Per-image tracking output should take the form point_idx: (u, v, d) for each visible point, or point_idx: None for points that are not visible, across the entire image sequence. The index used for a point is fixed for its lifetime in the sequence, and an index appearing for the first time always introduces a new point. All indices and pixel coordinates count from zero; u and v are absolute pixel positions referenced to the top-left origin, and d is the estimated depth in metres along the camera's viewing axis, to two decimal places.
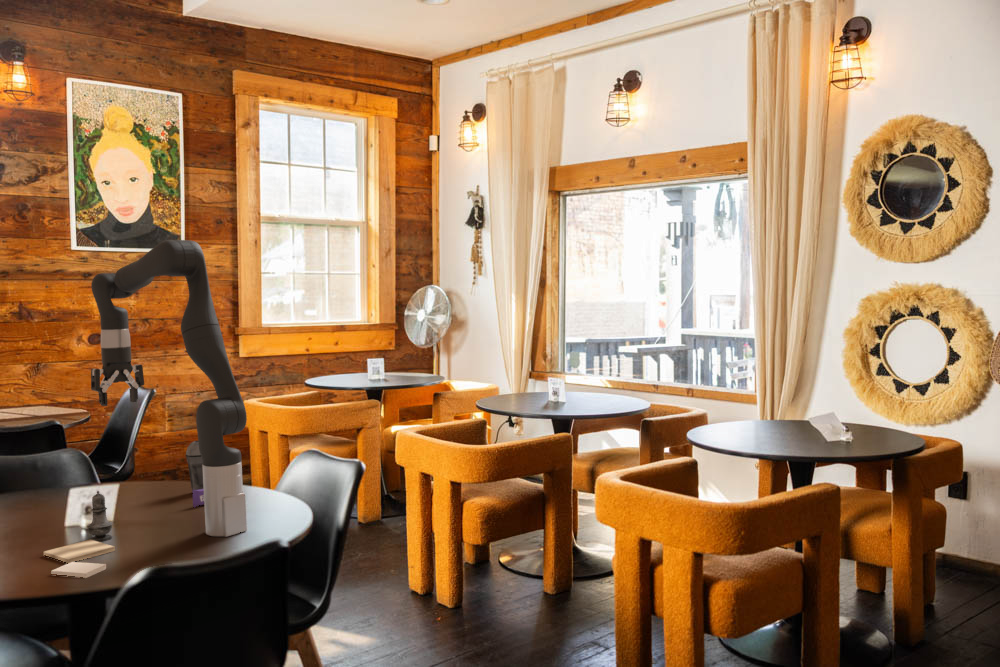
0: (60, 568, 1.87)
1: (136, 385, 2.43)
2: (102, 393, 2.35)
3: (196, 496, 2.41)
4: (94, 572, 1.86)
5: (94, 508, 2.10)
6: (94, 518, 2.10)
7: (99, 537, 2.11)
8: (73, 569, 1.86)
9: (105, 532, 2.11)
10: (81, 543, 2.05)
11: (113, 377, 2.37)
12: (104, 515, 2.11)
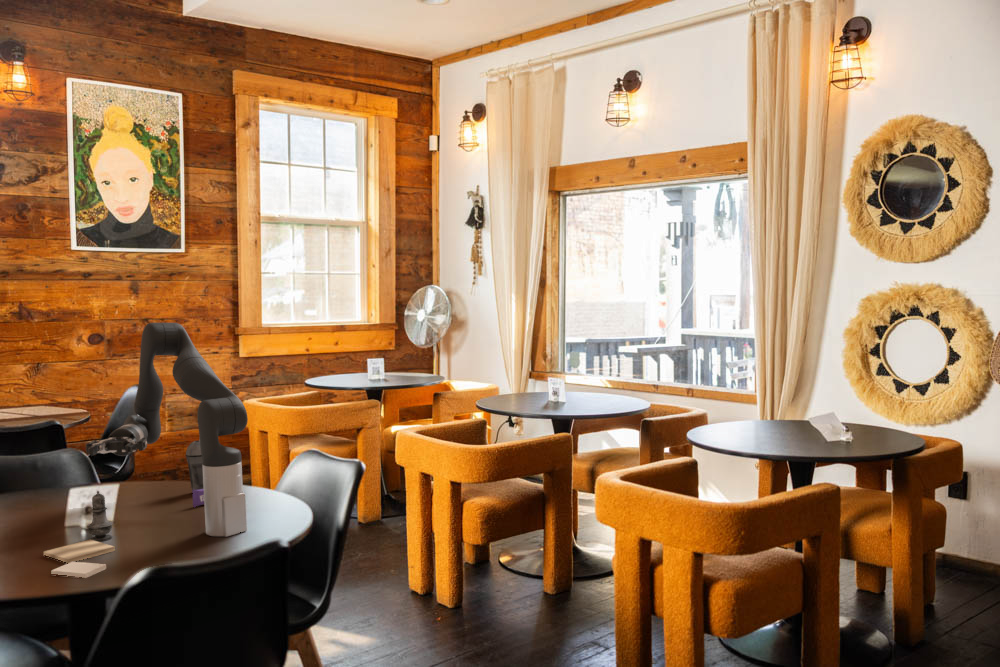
0: (60, 568, 1.87)
1: (133, 441, 2.27)
2: None
3: (196, 496, 2.41)
4: (94, 572, 1.86)
5: (94, 508, 2.10)
6: (94, 518, 2.10)
7: (99, 537, 2.11)
8: (73, 569, 1.86)
9: (105, 532, 2.11)
10: (81, 543, 2.05)
11: (108, 439, 2.29)
12: (104, 515, 2.11)
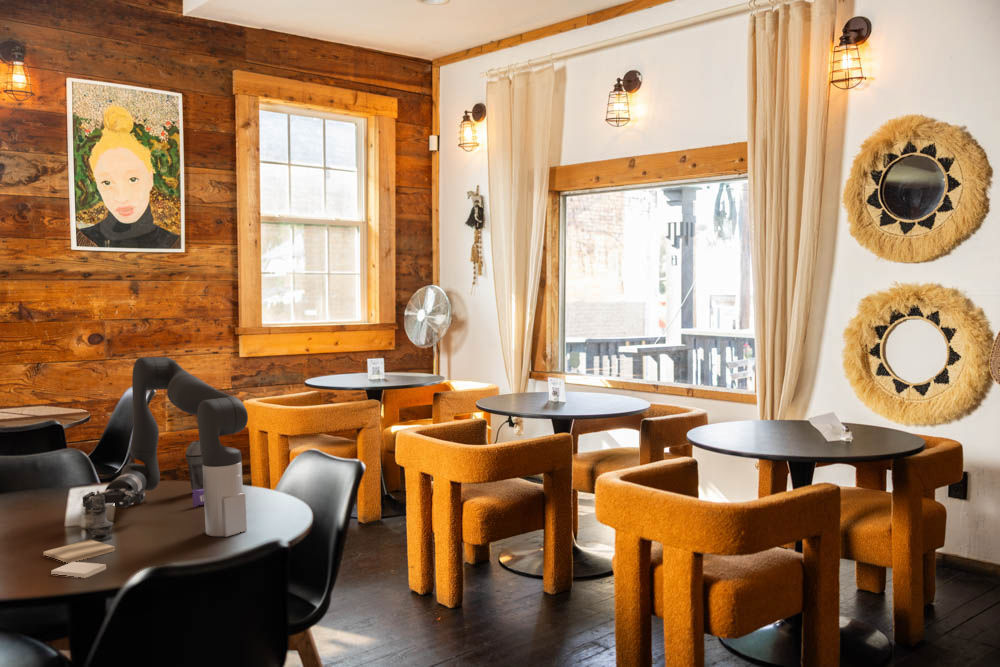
0: (60, 568, 1.87)
1: (130, 494, 2.23)
2: (89, 499, 2.20)
3: (196, 496, 2.41)
4: (93, 572, 1.86)
5: (94, 508, 2.10)
6: (94, 518, 2.10)
7: (99, 537, 2.11)
8: (73, 569, 1.86)
9: (105, 532, 2.11)
10: (81, 543, 2.05)
11: (105, 491, 2.25)
12: (104, 515, 2.11)
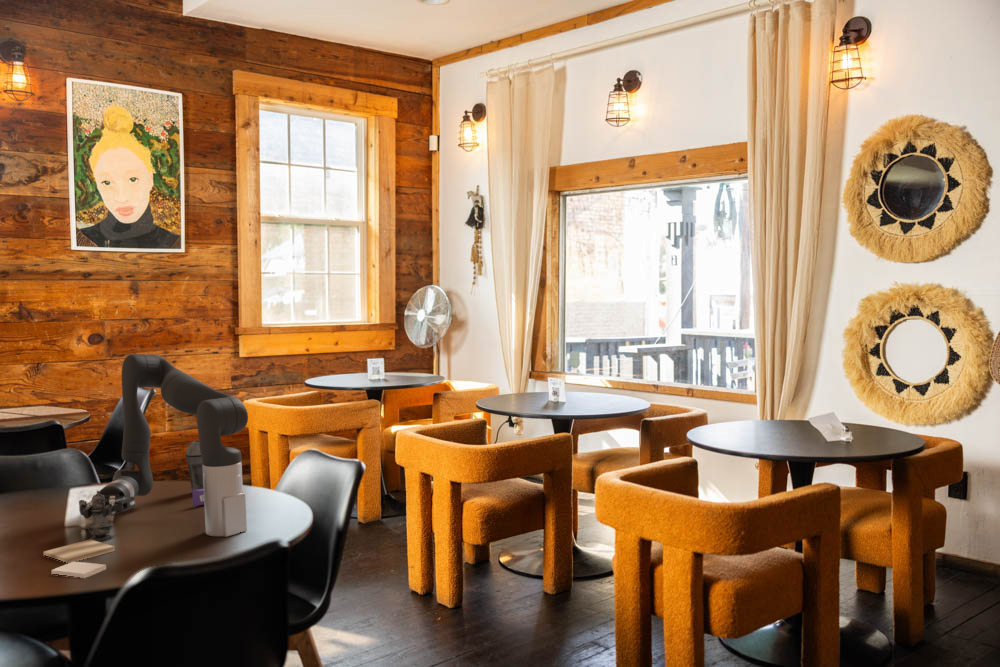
0: (60, 567, 1.87)
1: (111, 503, 2.14)
2: None
3: (196, 496, 2.41)
4: (93, 572, 1.86)
5: (94, 508, 2.10)
6: (94, 518, 2.10)
7: (99, 537, 2.11)
8: (73, 569, 1.86)
9: (105, 532, 2.11)
10: (81, 543, 2.05)
11: None
12: None
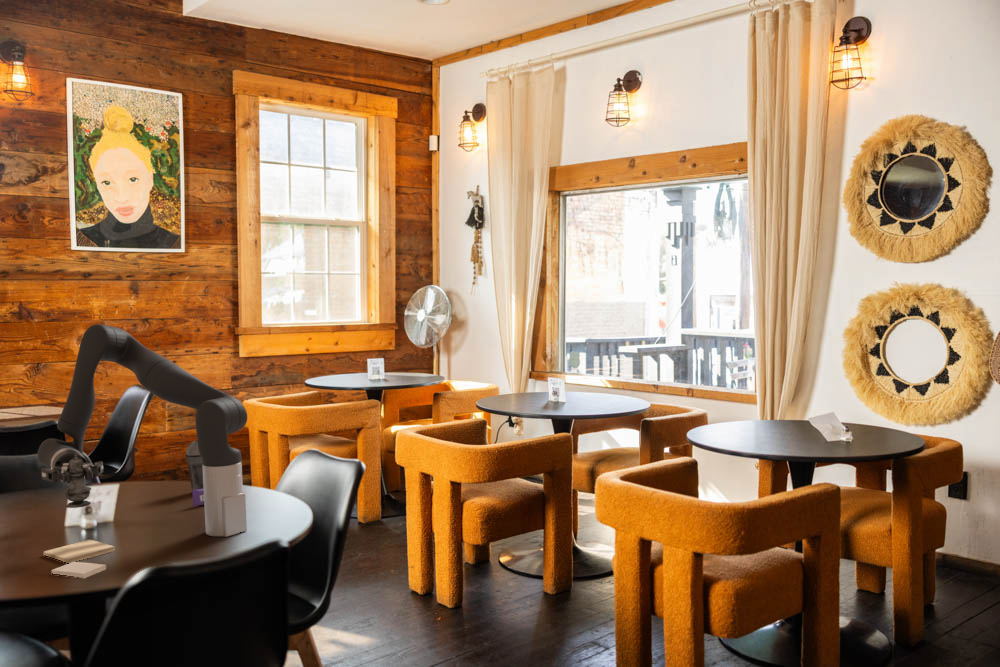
0: (61, 568, 1.87)
1: (87, 467, 2.05)
2: (62, 473, 2.01)
3: (196, 496, 2.41)
4: (93, 572, 1.85)
5: (74, 472, 2.01)
6: (74, 483, 2.01)
7: (79, 502, 2.02)
8: (73, 569, 1.86)
9: (86, 497, 2.02)
10: (81, 543, 2.05)
11: (65, 465, 2.06)
12: (83, 479, 2.03)
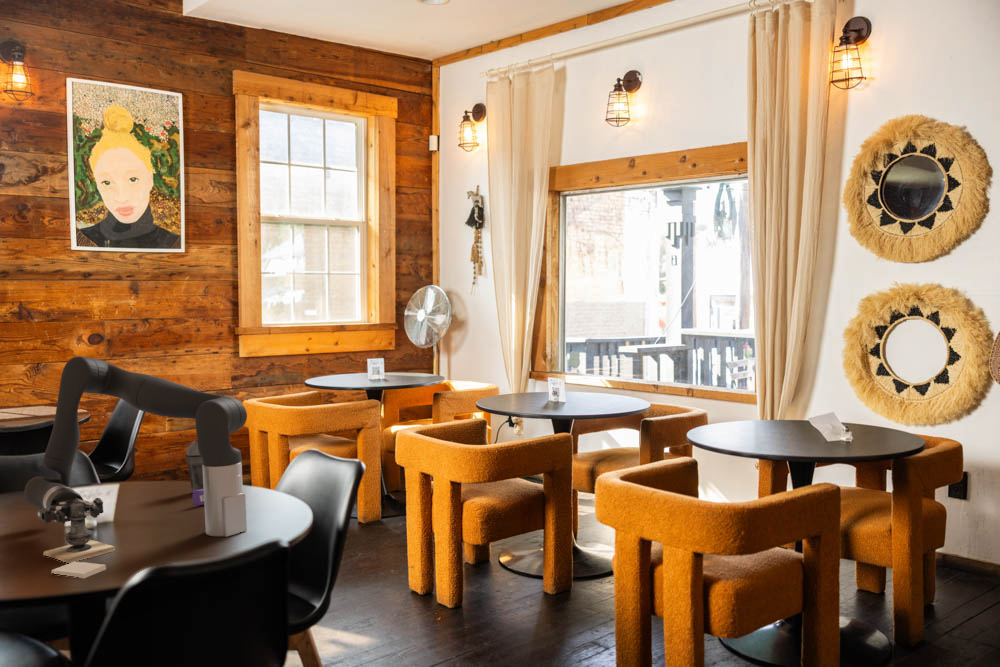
0: (61, 568, 1.87)
1: (92, 504, 2.04)
2: (56, 513, 1.98)
3: (196, 496, 2.41)
4: (93, 573, 1.85)
5: (75, 516, 1.99)
6: (75, 526, 1.99)
7: (80, 546, 2.00)
8: (73, 569, 1.86)
9: (88, 540, 2.00)
10: None
11: (61, 504, 2.03)
12: None
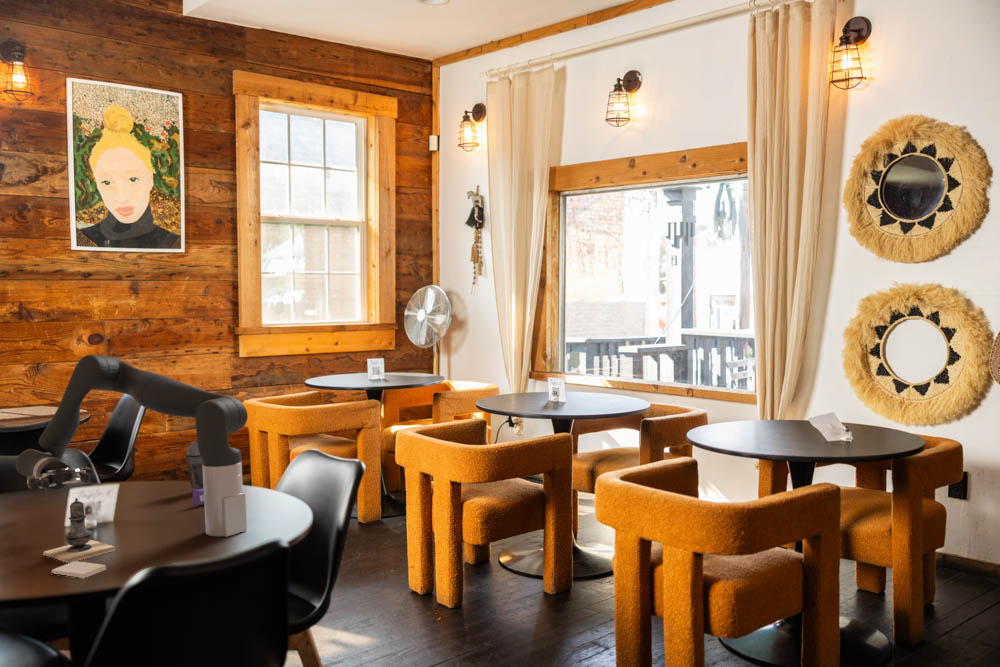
0: (61, 567, 1.88)
1: None
2: (40, 480, 2.08)
3: (196, 496, 2.41)
4: (92, 573, 1.85)
5: (75, 516, 1.99)
6: (75, 527, 1.99)
7: (80, 547, 2.00)
8: (73, 569, 1.86)
9: (88, 540, 2.00)
10: None
11: (49, 472, 2.13)
12: (84, 523, 2.01)
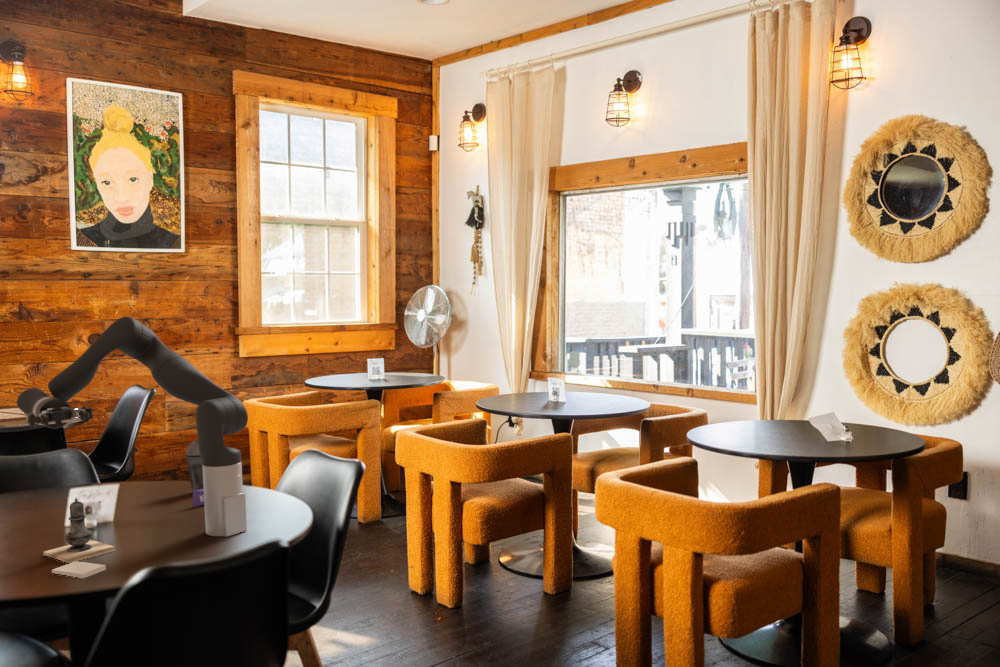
0: (61, 567, 1.88)
1: (82, 409, 2.16)
2: (40, 416, 2.09)
3: (196, 496, 2.41)
4: (92, 573, 1.85)
5: (75, 516, 1.99)
6: (75, 527, 1.99)
7: (80, 547, 2.00)
8: (73, 569, 1.86)
9: (88, 540, 2.00)
10: None
11: (49, 409, 2.14)
12: (84, 523, 2.01)
